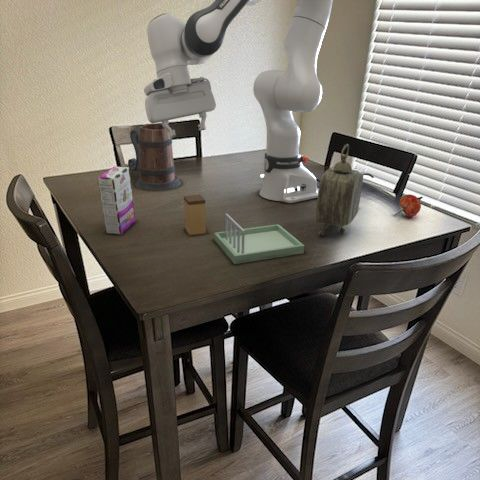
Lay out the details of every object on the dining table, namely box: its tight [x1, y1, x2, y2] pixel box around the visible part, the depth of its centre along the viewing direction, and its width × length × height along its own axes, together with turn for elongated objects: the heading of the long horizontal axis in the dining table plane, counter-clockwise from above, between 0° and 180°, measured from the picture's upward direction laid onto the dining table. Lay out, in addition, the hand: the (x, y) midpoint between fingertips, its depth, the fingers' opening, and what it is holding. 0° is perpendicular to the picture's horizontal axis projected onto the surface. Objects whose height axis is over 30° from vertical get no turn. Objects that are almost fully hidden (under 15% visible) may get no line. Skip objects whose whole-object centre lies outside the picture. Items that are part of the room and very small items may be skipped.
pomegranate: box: [393, 193, 424, 218], centre depth 153 cm, size 7×7×10 cm
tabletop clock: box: [315, 143, 364, 237], centre depth 135 cm, size 14×9×25 cm, turn 155°
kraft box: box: [183, 194, 207, 236], centre depth 138 cm, size 5×5×10 cm
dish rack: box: [213, 213, 305, 265], centre depth 130 cm, size 20×16×8 cm
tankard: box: [127, 123, 182, 192], centre depth 174 cm, size 24×17×20 cm
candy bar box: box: [97, 165, 136, 235], centre depth 137 cm, size 11×5×16 cm, turn 168°
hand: (188, 133), depth 138 cm, fingers open, 8 cm apart
